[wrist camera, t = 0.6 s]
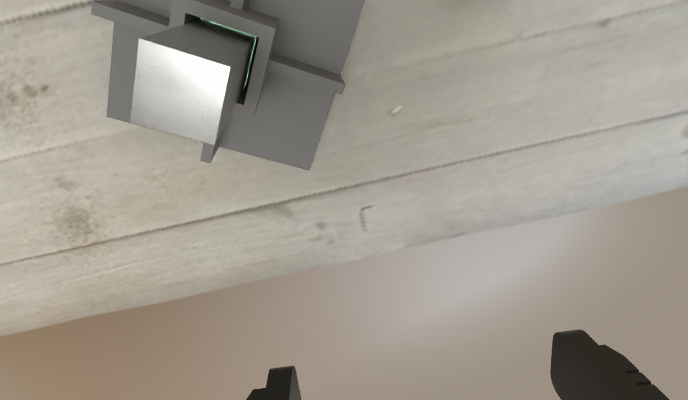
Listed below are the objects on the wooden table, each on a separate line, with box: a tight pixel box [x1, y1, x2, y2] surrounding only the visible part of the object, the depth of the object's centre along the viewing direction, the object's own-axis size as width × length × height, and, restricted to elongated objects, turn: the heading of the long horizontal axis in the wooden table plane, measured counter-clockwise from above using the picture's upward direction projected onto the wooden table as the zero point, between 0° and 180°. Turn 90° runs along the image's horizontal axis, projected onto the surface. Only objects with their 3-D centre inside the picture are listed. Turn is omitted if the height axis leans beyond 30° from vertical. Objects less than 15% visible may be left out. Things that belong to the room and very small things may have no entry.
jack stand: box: [91, 0, 364, 170], centre depth 28 cm, size 18×18×12 cm
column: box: [130, 18, 259, 145], centre depth 24 cm, size 4×4×17 cm
